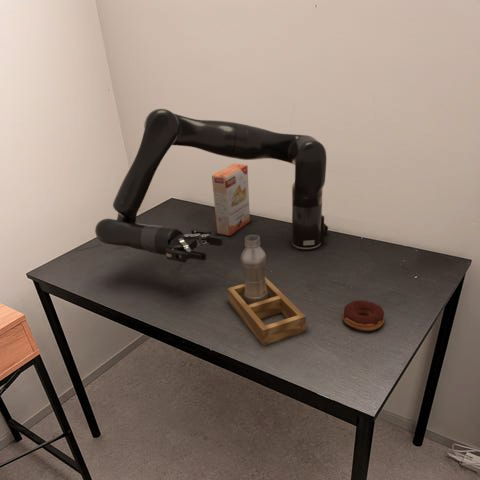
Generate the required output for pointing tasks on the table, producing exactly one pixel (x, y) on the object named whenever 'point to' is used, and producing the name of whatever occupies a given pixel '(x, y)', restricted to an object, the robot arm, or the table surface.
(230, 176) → the cracker box
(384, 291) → the table surface
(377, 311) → the donut
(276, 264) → the table surface
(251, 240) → the grey metal bottle
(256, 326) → the caddy
